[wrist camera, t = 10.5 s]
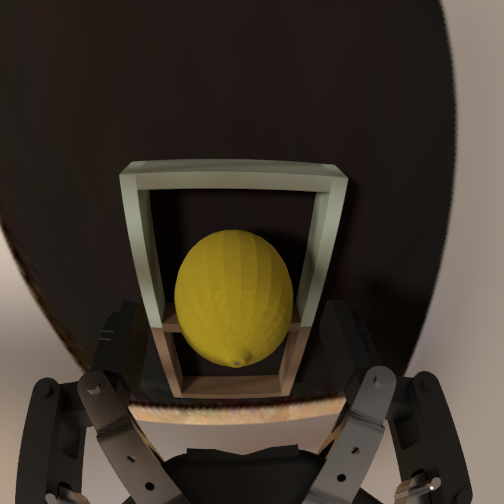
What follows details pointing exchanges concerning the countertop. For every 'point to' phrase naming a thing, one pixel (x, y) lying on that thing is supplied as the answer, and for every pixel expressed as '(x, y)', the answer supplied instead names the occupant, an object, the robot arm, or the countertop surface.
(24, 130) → the countertop surface
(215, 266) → the lemon
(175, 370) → the frame
